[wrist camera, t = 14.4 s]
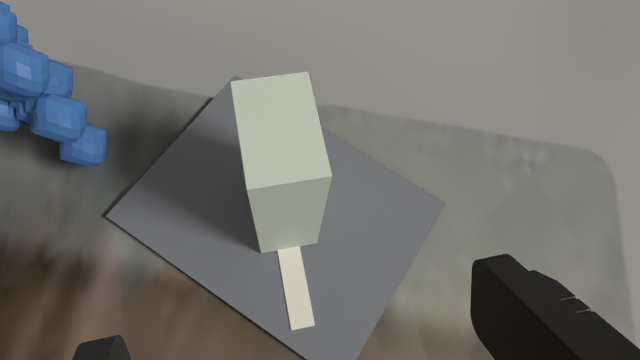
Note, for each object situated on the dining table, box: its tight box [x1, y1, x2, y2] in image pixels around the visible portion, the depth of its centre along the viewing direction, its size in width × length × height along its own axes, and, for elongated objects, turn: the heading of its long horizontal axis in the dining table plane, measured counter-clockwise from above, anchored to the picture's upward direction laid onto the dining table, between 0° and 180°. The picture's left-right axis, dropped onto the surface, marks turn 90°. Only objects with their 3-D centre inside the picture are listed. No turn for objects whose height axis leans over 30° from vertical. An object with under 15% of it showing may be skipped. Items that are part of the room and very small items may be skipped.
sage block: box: [231, 72, 332, 253], centre depth 27 cm, size 4×6×12 cm, turn 11°
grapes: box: [0, 1, 106, 166], centre depth 29 cm, size 12×7×12 cm, turn 41°
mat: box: [106, 76, 446, 360], centre depth 33 cm, size 20×15×1 cm
